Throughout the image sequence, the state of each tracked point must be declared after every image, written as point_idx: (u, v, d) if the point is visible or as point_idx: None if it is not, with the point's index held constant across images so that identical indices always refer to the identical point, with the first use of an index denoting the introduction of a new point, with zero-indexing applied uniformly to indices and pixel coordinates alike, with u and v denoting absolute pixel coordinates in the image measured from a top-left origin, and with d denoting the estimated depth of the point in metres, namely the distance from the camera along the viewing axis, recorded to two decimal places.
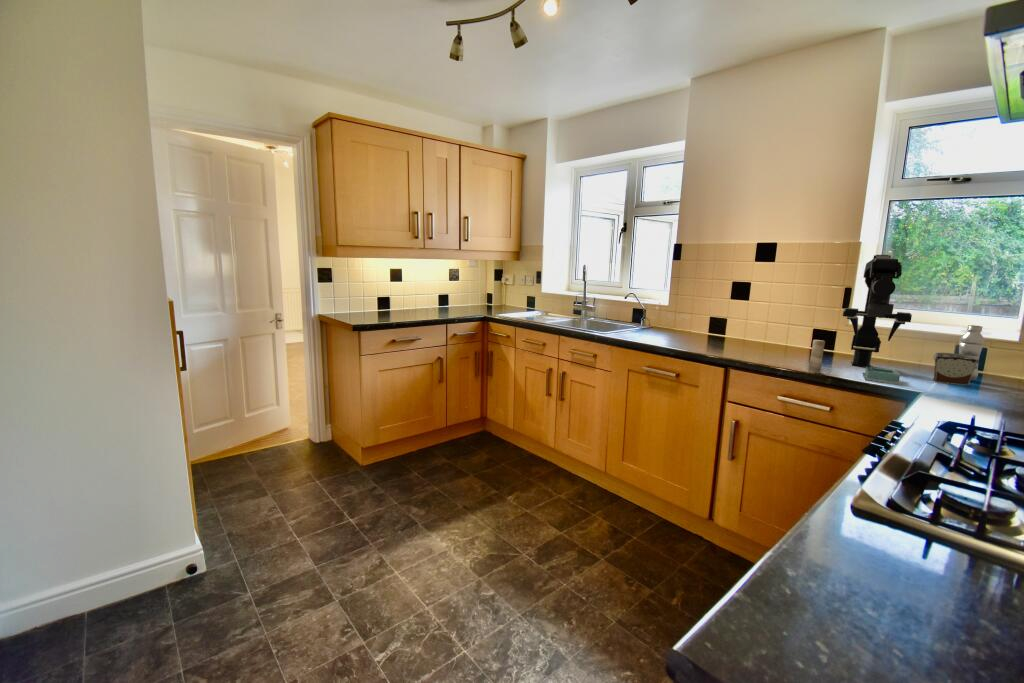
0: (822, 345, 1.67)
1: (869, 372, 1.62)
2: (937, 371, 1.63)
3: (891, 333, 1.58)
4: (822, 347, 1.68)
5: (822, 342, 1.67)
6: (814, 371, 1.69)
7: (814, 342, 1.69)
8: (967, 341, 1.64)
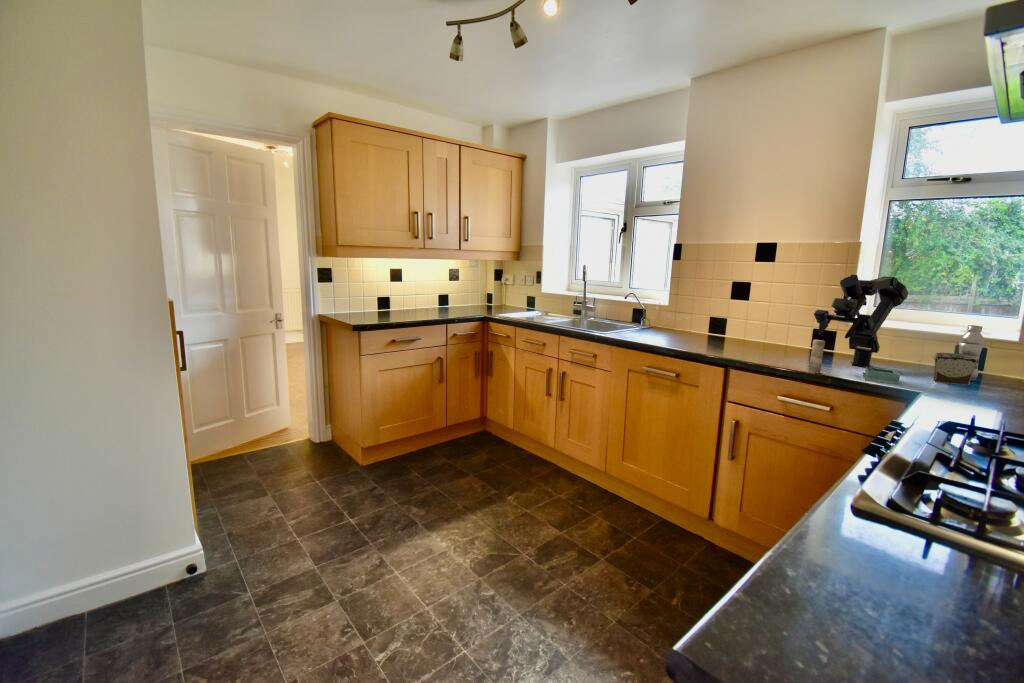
0: (822, 345, 1.67)
1: (869, 372, 1.62)
2: (937, 371, 1.63)
3: (849, 330, 1.68)
4: (822, 347, 1.68)
5: (822, 342, 1.67)
6: (814, 371, 1.69)
7: (814, 342, 1.69)
8: (967, 341, 1.64)
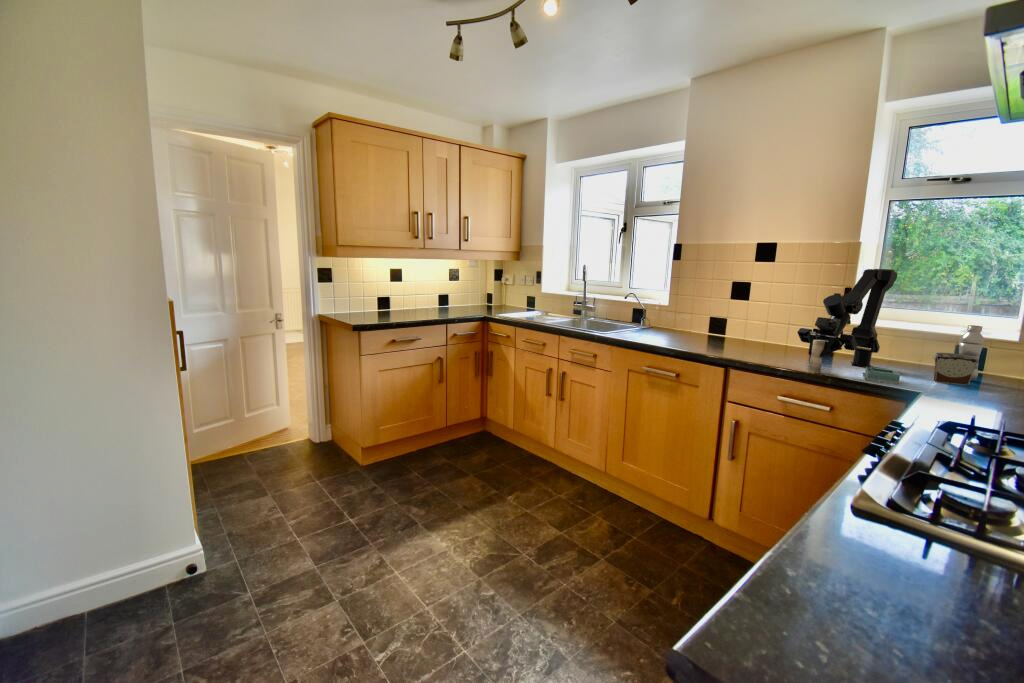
0: (822, 345, 1.67)
1: (869, 372, 1.62)
2: (937, 371, 1.63)
3: (824, 349, 1.67)
4: (822, 347, 1.68)
5: (822, 342, 1.67)
6: (814, 371, 1.69)
7: (814, 342, 1.69)
8: (967, 341, 1.64)
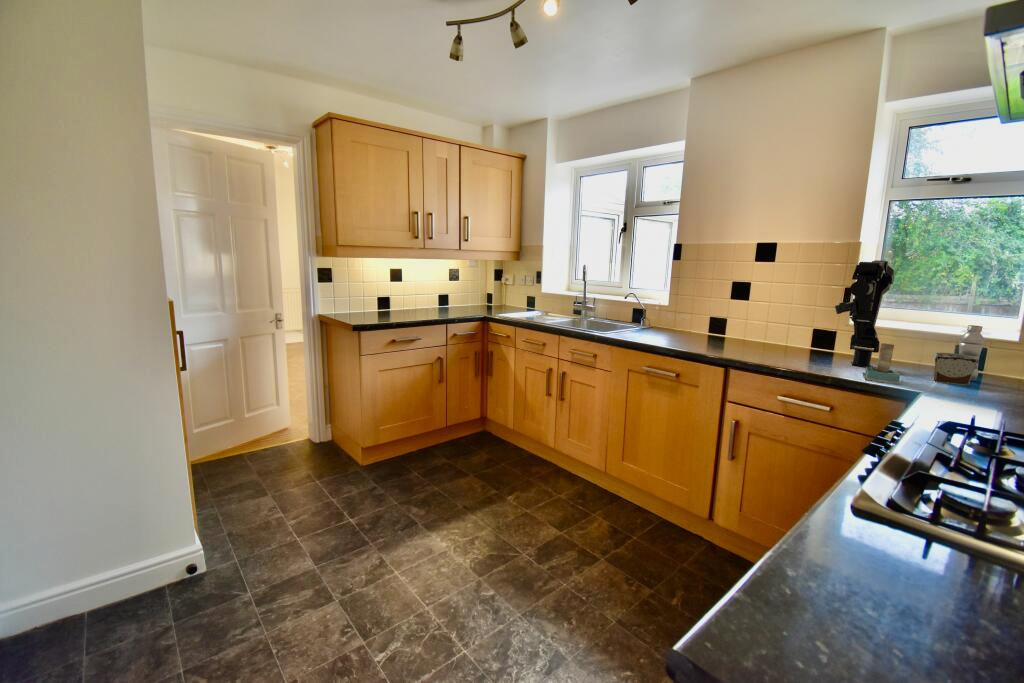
0: None
1: (869, 372, 1.62)
2: (937, 371, 1.63)
3: (856, 331, 1.70)
4: (892, 351, 1.61)
5: (893, 346, 1.60)
6: None
7: (886, 346, 1.60)
8: (967, 341, 1.64)
